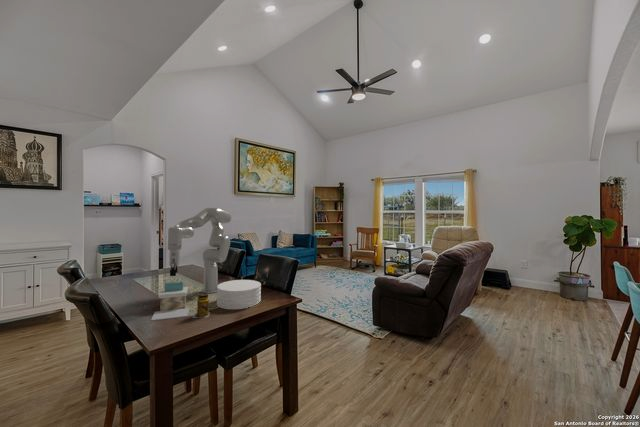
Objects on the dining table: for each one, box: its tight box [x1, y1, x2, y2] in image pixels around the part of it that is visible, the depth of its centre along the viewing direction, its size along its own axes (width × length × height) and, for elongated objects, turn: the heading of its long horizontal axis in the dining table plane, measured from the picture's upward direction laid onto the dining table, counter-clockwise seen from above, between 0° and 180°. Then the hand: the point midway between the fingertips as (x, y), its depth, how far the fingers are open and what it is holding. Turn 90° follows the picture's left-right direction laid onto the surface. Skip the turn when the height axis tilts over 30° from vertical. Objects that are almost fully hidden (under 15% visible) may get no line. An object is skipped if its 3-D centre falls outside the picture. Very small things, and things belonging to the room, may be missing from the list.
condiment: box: [191, 293, 211, 319], centre depth 157 cm, size 7×8×12 cm
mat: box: [150, 307, 190, 322], centre depth 157 cm, size 18×13×1 cm
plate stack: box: [216, 279, 262, 310], centre depth 182 cm, size 28×28×12 cm
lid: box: [158, 280, 189, 299], centre depth 171 cm, size 15×15×7 cm
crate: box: [159, 296, 187, 311], centre depth 171 cm, size 13×13×9 cm
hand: (173, 274), depth 170 cm, fingers open, 9 cm apart
